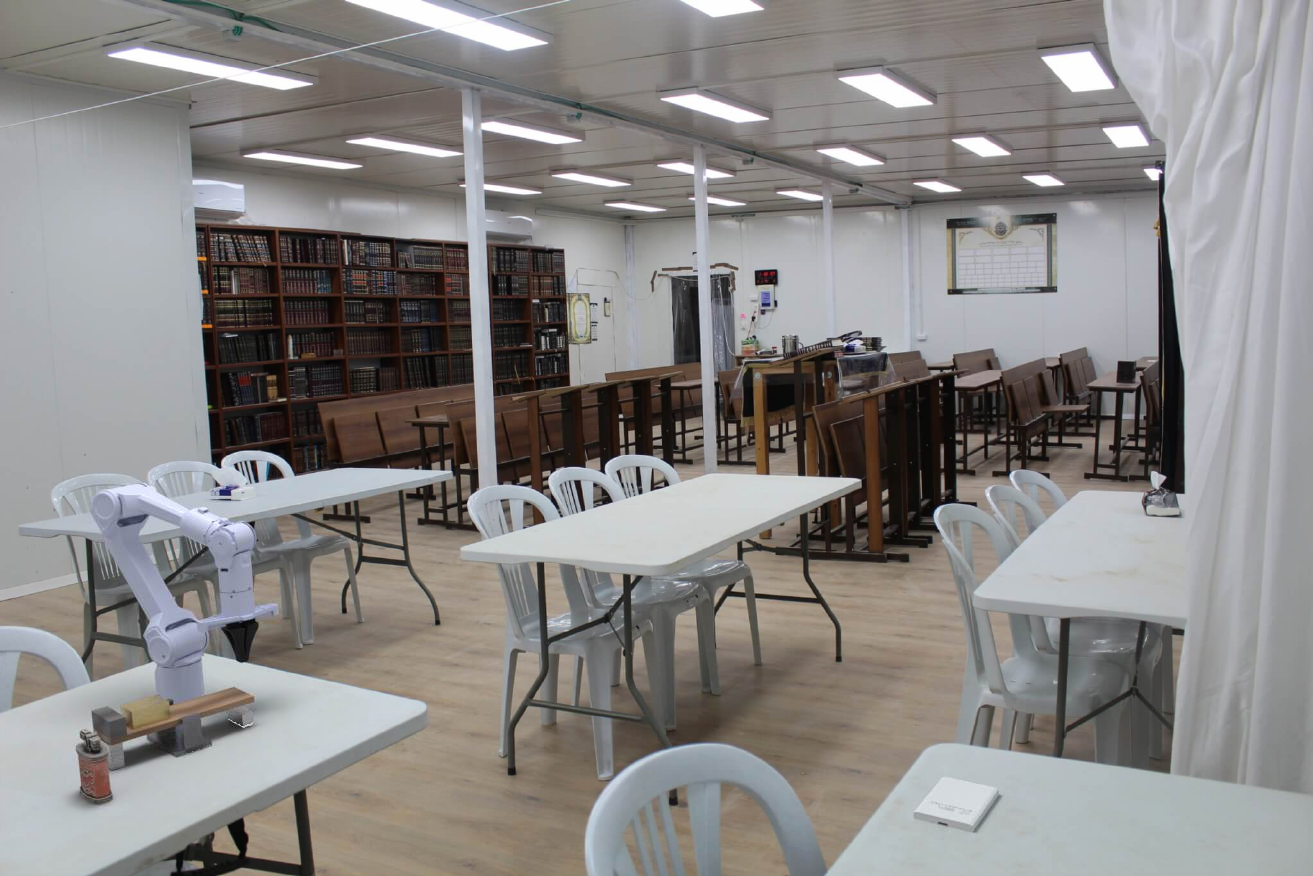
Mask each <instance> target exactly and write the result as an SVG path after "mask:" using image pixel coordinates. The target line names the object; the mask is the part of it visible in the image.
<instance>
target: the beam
mask: <svg viewBox="0 0 1313 876" xmlns="http://www.w3.org/2000/svg"><path fill="white" fill-rule="evenodd" d="M252 703H255V696H254V695H252V694H250V693H249V692H246V691H243V690H241V689H240V688H237V687H235V686H233V687H229V688H226V689H223V690H222V689H221V690H219V691H215V692H212V693H209V694H205V695H204V696H201V697H198V698H194V699H191V700H187V701H184V702H180V703H177V704H174V705H170V706H169V707H170V717H171V718H170V719H167V720H163V721H160V722H157V723H153V724H150V725H147V726H143V727H140V728H137V729H132V728H130V727H129V726H127V725H126V718H125V717H124V716H123V715H121V713H120V712H118V711H116V710H115V709H113V708H111V707H110V706H108V705H106V706H103V707H99V708H96V709H93V710H91V712H90V713H91V719H92V721H91V722H92V729H93V731H92V732H97V733H98V736H99V738H101V739H102V740H104V741H105V742H107V743H108V744H110V745H111V746H112V745H115V744H119V743H125V742H127V741H131V740H134V739H138V738H142V737H144V736H147V735H148V734H151V733H155V732H158V731H161V730H164V729H168V728H171V727H174V726H177V725H180V720H179V718H182V717H185V716H188V715H192V714H195V713H199V714H200V717H201V719H203V718H205V717H209V716H212V715H216V714H219V713H220V714H221V713H222V712H225V711H226V712H227V710H229V709H233V708H236V707H239V706H242V707H243V706H245V705H249V704H252Z"/></svg>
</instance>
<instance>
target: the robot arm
mask: <svg viewBox="0 0 1313 876" xmlns="http://www.w3.org/2000/svg"><path fill="white" fill-rule="evenodd" d="M89 511H90V515H91V516H92V518H93V519H94V522H95V523H96V525H97V526H98V528H99V530H100V532H101V534H102V537H103V541H104V544H105V545H106V548H107V550H108V551H109V553H110V555H111V556H112V558H113V560H114V561H115V563H116V565H117V567H118V568H119V571H120V573H122V575H123V578H124V580H125V581H126V583H127V584H128V586H129V587H130V590H131V591H132V593H133V594H134V596H135V598H136V600H137V602H138V604H139V605H140V607H141V609H142V610H143V612H144V614H145V616H146V617H147V619H148V621H149V622H148V625H147V627H146V629H145V631H144V633H143V635H142V637H143V638H144V640H145V642H146V645H147V650H148V654H149V656H150V658H151V660H152V661H153V662H154V663H155V664H156V667H155V669H154V681H155V692H156V695H158V696H160V697H162V698H164V699H166V700H167V699H172V700H173V704H177V703H180V702H184V701H187V700H191V699H194V698H198V697H201V696H204V695H206V694H205V682H204V672H203V671H204V670H203V661H202V660H203V659H202V658H203V656H205V653H204V652H205V651H204V650H206V649H207V647H208V646H209V643H210V634H209V631H213V630H217V629H220V630H221V631H222V632H223V634H224V636H225V637H226V639H227V641H228V642H229V643H230V646H231V648H232V651H233V654H234V656H235V660H236V662H239V663H240V664H243V663H247V662H249V659H250V653H251V648H252V643H253V641H254V638H255V636H256V633H257V631H259V628H260V627H259V626H260V623H259V621H256V620H258V619H261V618H266V617H271V616H274V617H275V616H278V615H280V608H279V604H277V603H274V602H273V603H267V604H262V605H256V604H255V603H256V602H255V592H254V579H253V569H252V568H253V567H252V566H253V565H252V552H251V551H252V550H253V549H254V548H255V547H256V544H257V533H256V531H255V529H254V527H252V525H250V524H249V523H248V522H246V521H244V520H240V521H235V522H231V521H230V519H229V518H227V517H221V516H218V515H216V514H215V513H212V512H210V509H209V508H208V507H206V506H201V507H193V508H192V509H188V508H186V507H185V506H183V505H181V504H179V503H177V502H176V501H174V500H172V499H170V498H169V497H167V496H165V495H163V494H161V493H159V491H158V490H157V488H156V486H151V485H149V484H148V483H145V482H140V481H139V482H135V483H134V484H129V485H124V486H119V487H114V488H108V489H107V488H106V489H105V488H104V489H100V490H98V491H97V492H96V493H95V494H94V496H93V499H92V502H91V507H90V510H89ZM150 517H154V518H156V519H159V520H160V521H161V520H162V521H164V522H166V523H169V524H171V525H174V526H176V527H179V528H180V532H181V534H182V535H183V537H186V538H188V539H190V540H193V541H194V542H197V543H199V544H201V545H203V546H206V547H207V548H208V550H209V552H210V553H211V555H212V556H213V559H214V565H215V567H216V568H217V573H218V584H219V597H220V608H221V609H220V610H221V613H218V614H215V615H212V616H209V617H206V618H204V619H200V620H199V619H197V617H196V616H195V615H196V614H194V612H193V611H191V610H188V609H185V608H183V607H180V606H179V605H178V603H177V602H176V600H175V598H174V597H173V594H172V593H171V591H170V590H169V588H168V587H167V585H166V582H165V581H164V579H163V577H162V576H161V574H160V572H159V570H158V569H157V567H156V565H155V564H154V562H153V560H152V559H151V556H150V555H149V553H148V551H147V550H146V548H145V546H144V544H143V543H142V541H141V539H140V533H141V530H142V529H144V527H145V526H146V524H147V522H148V520H149V518H150Z"/></svg>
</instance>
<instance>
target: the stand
mask: <svg viewBox="0 0 1313 876" xmlns="http://www.w3.org/2000/svg"><path fill="white" fill-rule="evenodd" d="M167 700H168V701H169V706H170V705H174V704H173V700H172V699H167ZM226 713H227V720H228V719H230V720H232V721H233V722H236V723H237V724H240V725H241V726H245V725H247V724H251V723H252V722H254V723H255V721H254V711H252V710H250V709H249V708H246V707H245V706H243V705H242V706H239V707H236V708H233V709H229V710H226ZM201 719H202V718H201V717H200V714H199V713H195V714H192V715H188V716H185V717H182V718H179V720H180V725H177V726H174V727H171V728H168V729H164V730H161V731H158V732H155V733H151V734H148V735H146V739H147V740H148V741H149V742H151V743H153V744H154V745H156V746H157V747H159V748H161V749H162V750H165V752H167V753H169V754H170V753H171V754H170V755H172V754H173V755H172V756H174V757H175V756H176V757H175V758H178V757H181V755H182V756H184V755H183V754H185V755H187V754H186V753H188V754H190V752H191V753H193V752H192V751H194V752H196V750H197V751H199V750H198V749H200V750H202V748H203V749H205V748H204V747H206V748H208V747H207V746H209V745H212V746H213V741H212V740H211V739H208V738H207V737H205V736H203V731H202V720H201ZM100 741H101V744H102V745H104V746H105V747H106V748H107V750H108V753H109V757H108V768H109V770H111V771H113V770H116V769H120V768H124V767H125V755H124V744H123V743H124V742H122V743H119V744H115V745H112V746H111V745H110V744H108V743H107V742H105V741H104V740H102V739H101V738H100ZM209 747H210V746H209ZM177 756H178V757H177Z"/></svg>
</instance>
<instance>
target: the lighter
mask: <svg viewBox="0 0 1313 876" xmlns="http://www.w3.org/2000/svg"><path fill="white" fill-rule="evenodd" d="M79 739H80V740H82V741H83V742H80V743H77V744H76V745H75V752H76V753H77V754H76V755H77V758H78V759H77V760H78V767H79V777H80V785H79V791H80V796H81V795H82V796H81V797H82V798H83V800H85V801H86V802H88V801H89V802H88V803H91V804H92V805H96V804H99V805H103V804H107V803H109V801H110V802H112V800H113V799H114V797H113V791H112V789H111V781H110V769H109V768H108V757H109V753H108V750H107V748H106V747H105V746H104V745H102V744H101V741H100V738H99V736H98V733H97V732H94V731H91V730H89V729H88V728H83V729H80V730H79Z"/></svg>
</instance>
